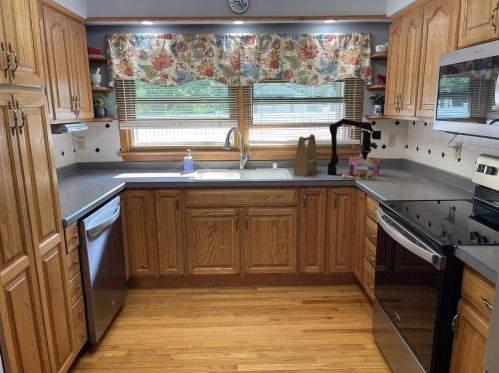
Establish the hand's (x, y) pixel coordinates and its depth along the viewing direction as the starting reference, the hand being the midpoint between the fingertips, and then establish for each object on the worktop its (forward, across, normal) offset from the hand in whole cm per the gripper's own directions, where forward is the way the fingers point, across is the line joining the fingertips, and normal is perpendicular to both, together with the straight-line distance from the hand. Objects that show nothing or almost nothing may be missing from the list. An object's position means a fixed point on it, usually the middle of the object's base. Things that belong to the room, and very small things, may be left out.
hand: (364, 159), depth 286 cm
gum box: (+14, +12, -2) cm, 18 cm away
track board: (+13, -8, +5) cm, 16 cm away
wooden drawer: (+12, -8, +4) cm, 15 cm away
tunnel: (+12, -8, +1) cm, 14 cm away
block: (+11, -8, +1) cm, 13 cm away
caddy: (+15, +6, +44) cm, 47 cm away
